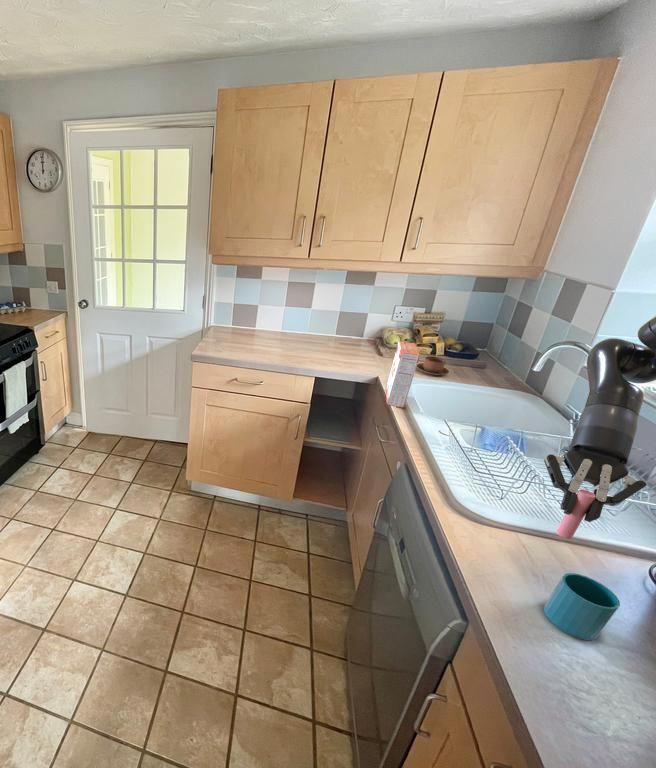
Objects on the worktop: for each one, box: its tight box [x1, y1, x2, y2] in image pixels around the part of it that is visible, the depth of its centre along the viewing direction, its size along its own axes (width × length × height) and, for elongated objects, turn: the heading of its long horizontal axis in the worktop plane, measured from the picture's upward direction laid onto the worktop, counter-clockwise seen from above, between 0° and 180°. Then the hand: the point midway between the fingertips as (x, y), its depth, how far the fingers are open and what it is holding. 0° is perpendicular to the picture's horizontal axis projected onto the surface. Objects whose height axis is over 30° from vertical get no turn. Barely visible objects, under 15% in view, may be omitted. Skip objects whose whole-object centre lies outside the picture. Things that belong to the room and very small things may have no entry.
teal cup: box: [543, 572, 621, 641], centre depth 73 cm, size 7×7×8 cm
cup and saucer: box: [416, 356, 450, 376], centre depth 180 cm, size 12×12×6 cm
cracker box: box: [385, 341, 420, 409], centre depth 152 cm, size 14×6×21 cm, turn 154°
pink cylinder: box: [556, 488, 596, 540], centre depth 77 cm, size 2×2×10 cm
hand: (578, 516), depth 75 cm, fingers closed on pink cylinder, 2 cm apart
